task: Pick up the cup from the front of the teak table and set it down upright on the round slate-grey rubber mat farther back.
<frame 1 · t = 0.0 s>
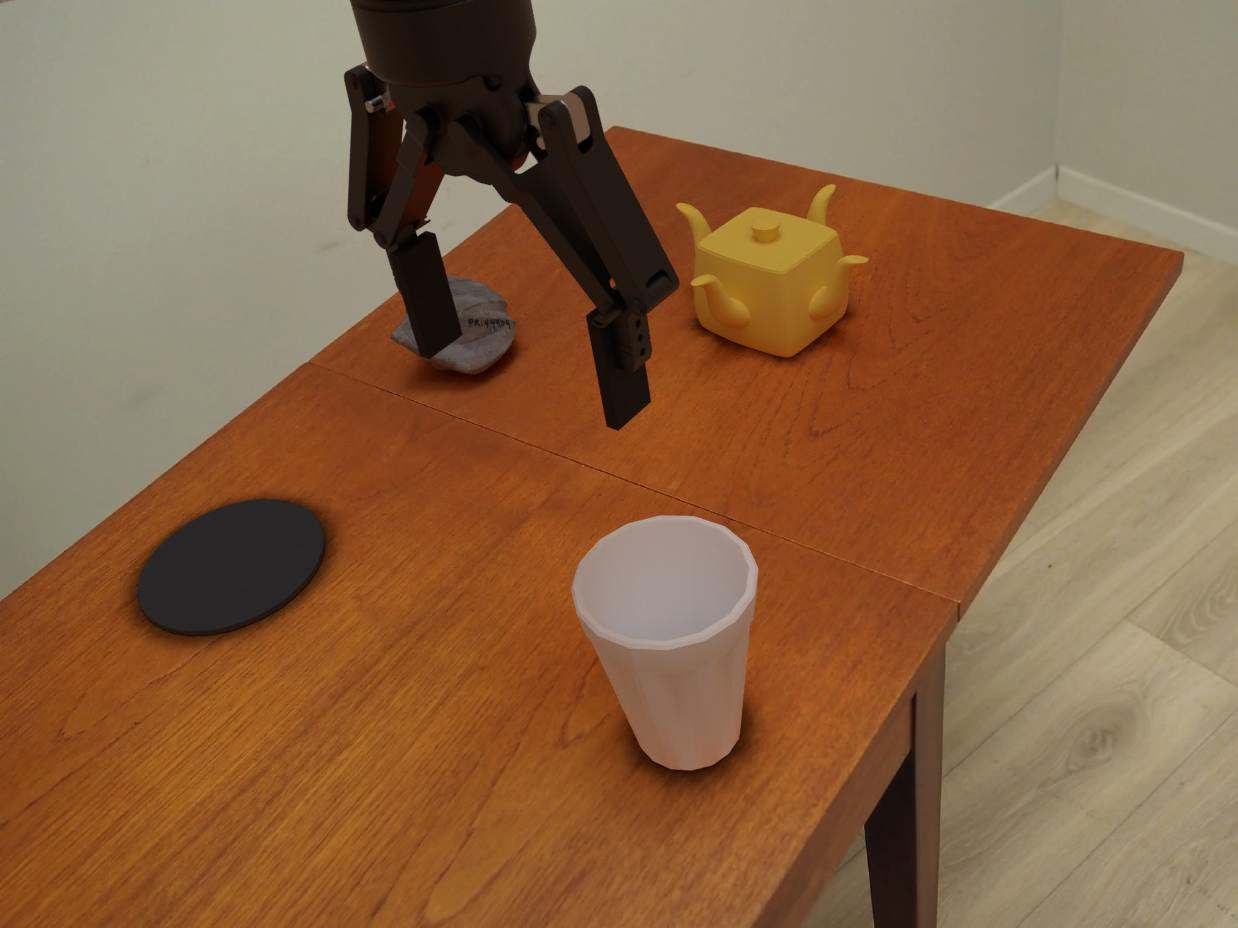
hand: (529, 378, 62), 22 cm above the table, tool pointing down, fingers open, 13 cm apart
mat: (233, 565, 88), on the table
teapot: (771, 321, 103), on the table
fossil: (463, 364, 105), on the table
cup: (689, 732, 70), on the table
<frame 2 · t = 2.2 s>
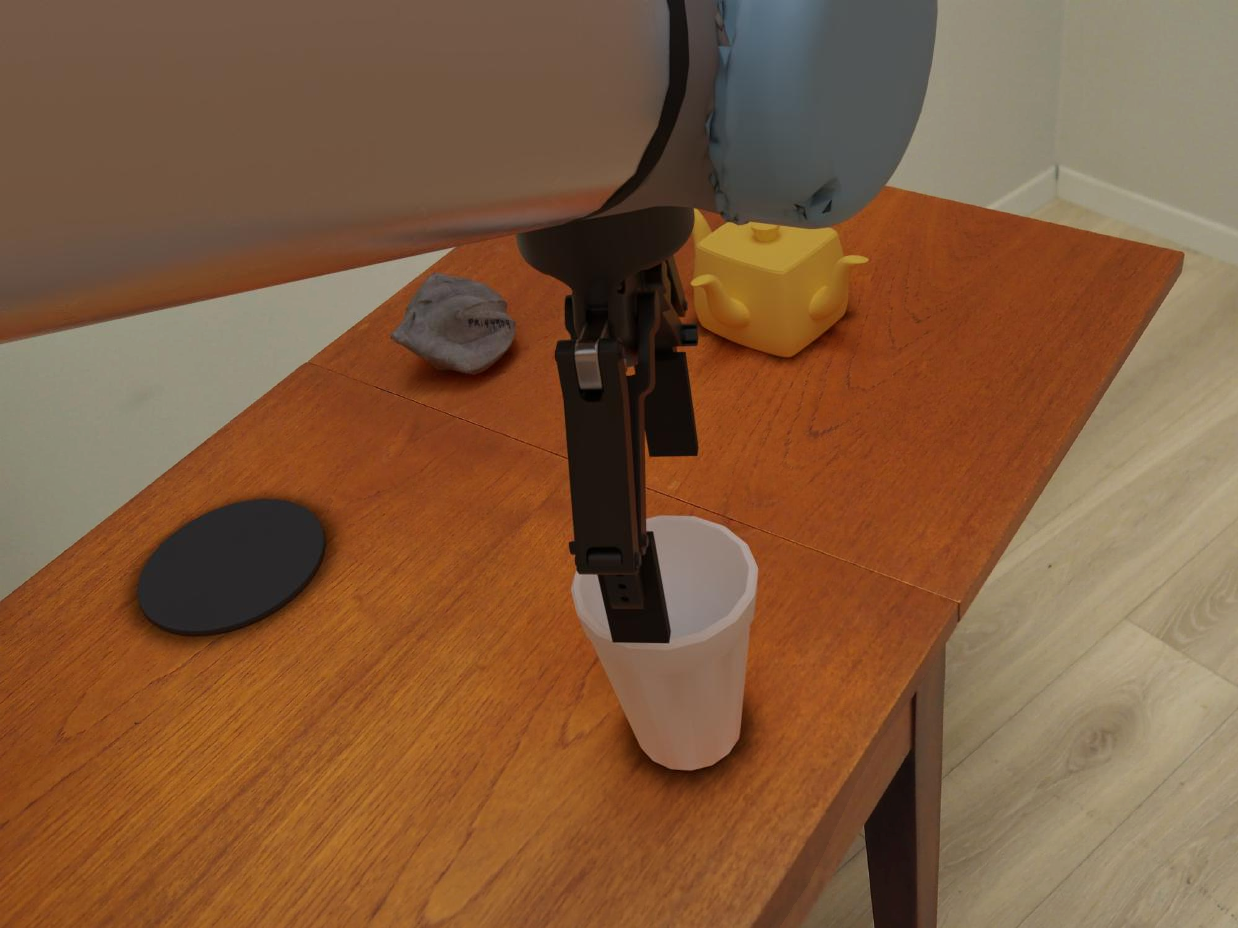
hand: (659, 537, 60), 16 cm above the table, tool pointing down, fingers open, 13 cm apart
nothing on the table moved.
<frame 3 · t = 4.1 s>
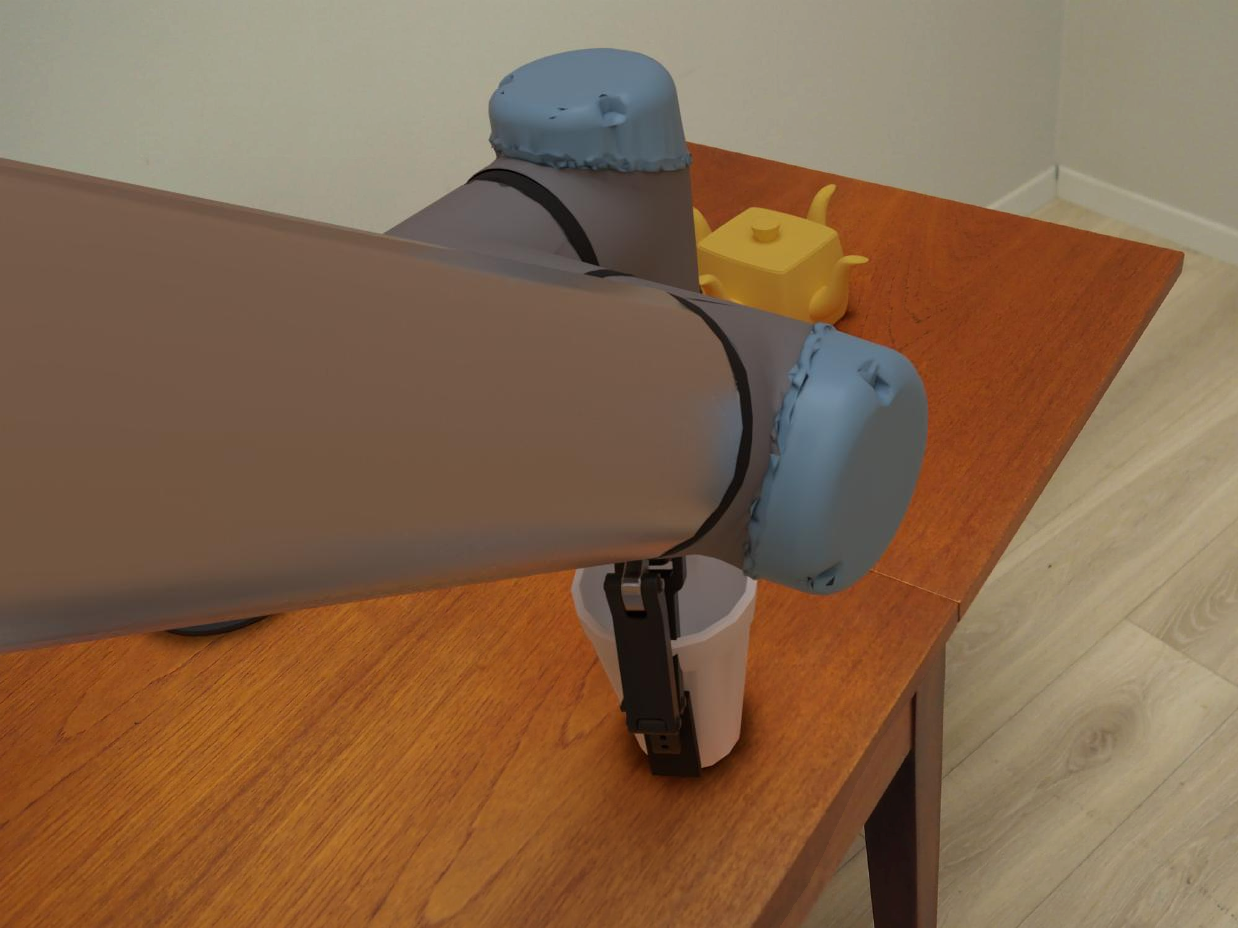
hand: (685, 706, 69), 2 cm above the table, tool pointing down, fingers closed on cup, 8 cm apart
cup: (689, 732, 70), on the table, touching gripper
everything else where it was.
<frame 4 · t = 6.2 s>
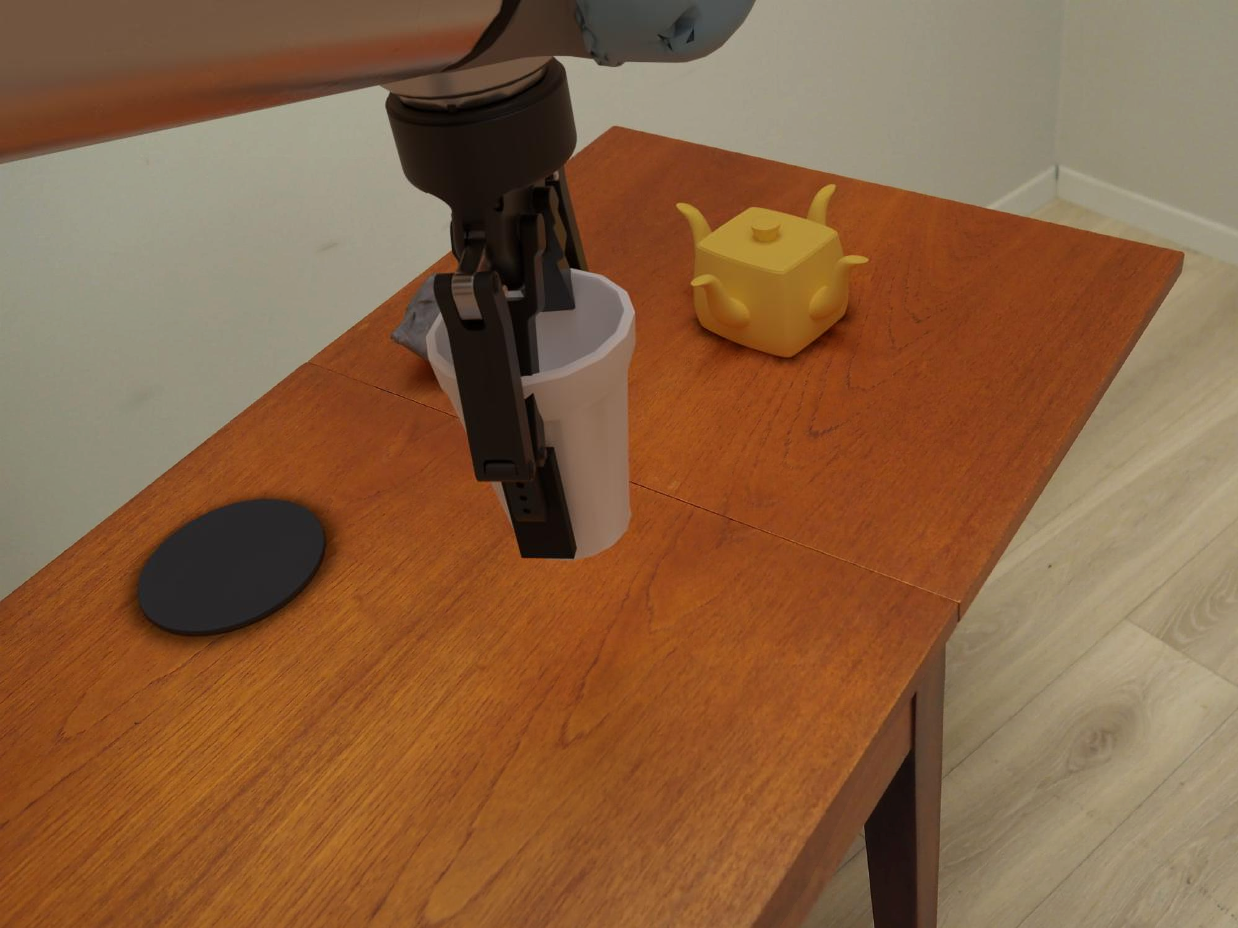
hand: (566, 493, 62), 17 cm above the table, tool pointing down, fingers closed on cup, 8 cm apart
cup: (575, 528, 63), point 15 cm above the table, touching gripper
everything else where it was.
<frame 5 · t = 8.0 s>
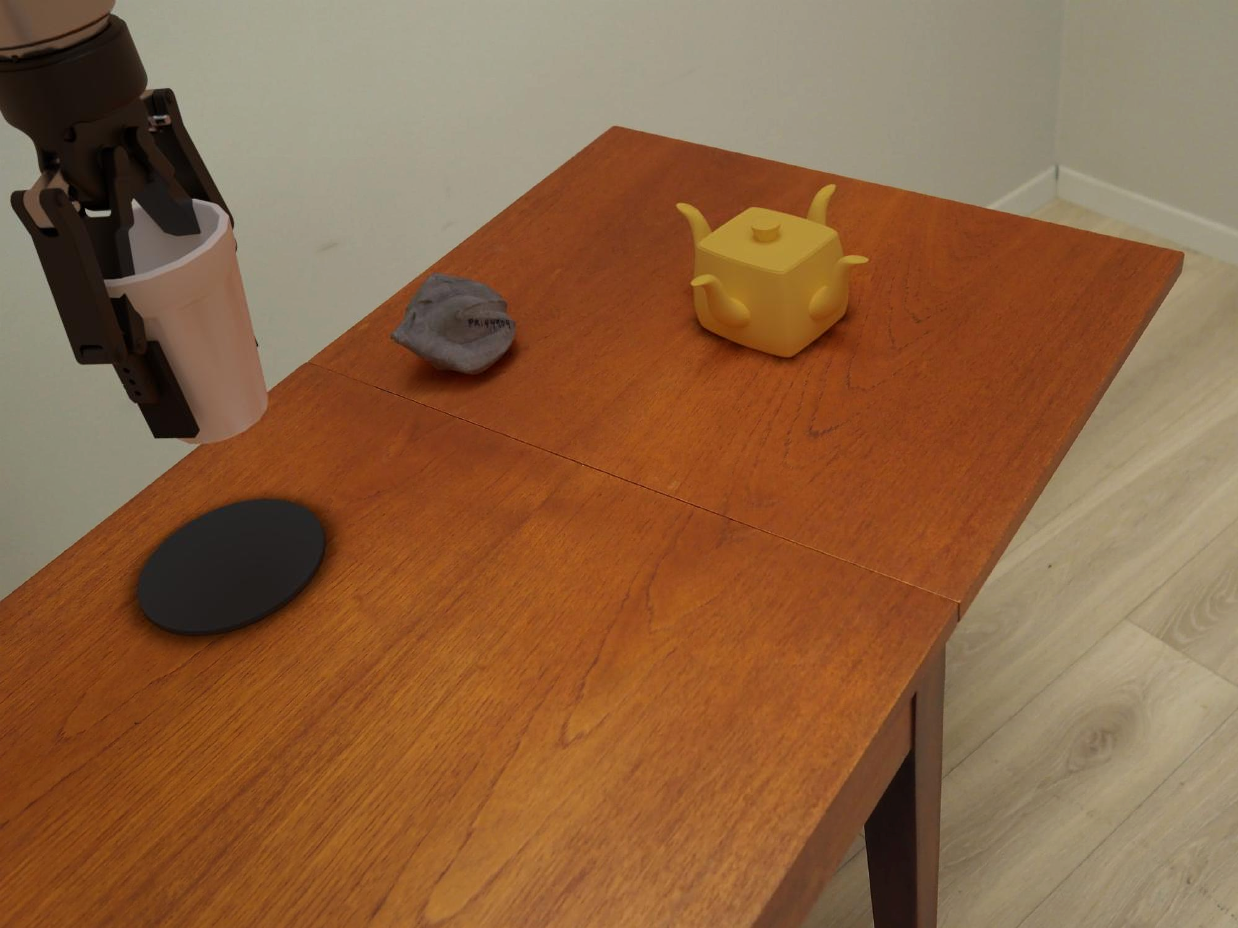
hand: (208, 389, 74), 18 cm above the table, tool pointing down, fingers closed on cup, 8 cm apart
cup: (223, 421, 76), point 15 cm above the table, touching gripper
everything else where it was.
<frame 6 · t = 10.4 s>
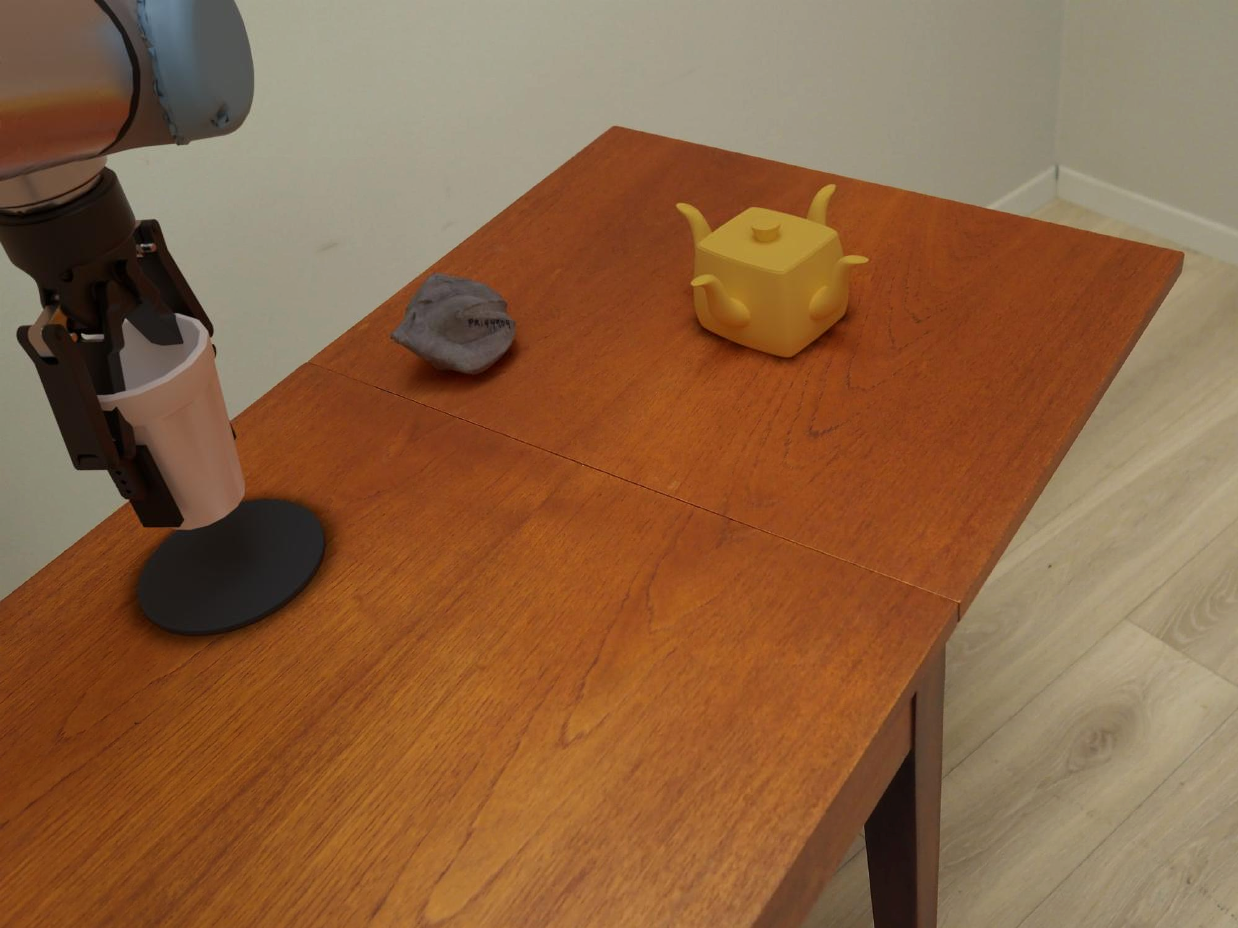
hand: (192, 480, 83), 8 cm above the table, tool pointing down, fingers closed on cup, 8 cm apart
cup: (205, 506, 84), point 6 cm above the table, touching gripper
everything else where it was.
when the fingers open (3 cm above the table, at t = 12.2 s): cup stays where it is, resting on mat.
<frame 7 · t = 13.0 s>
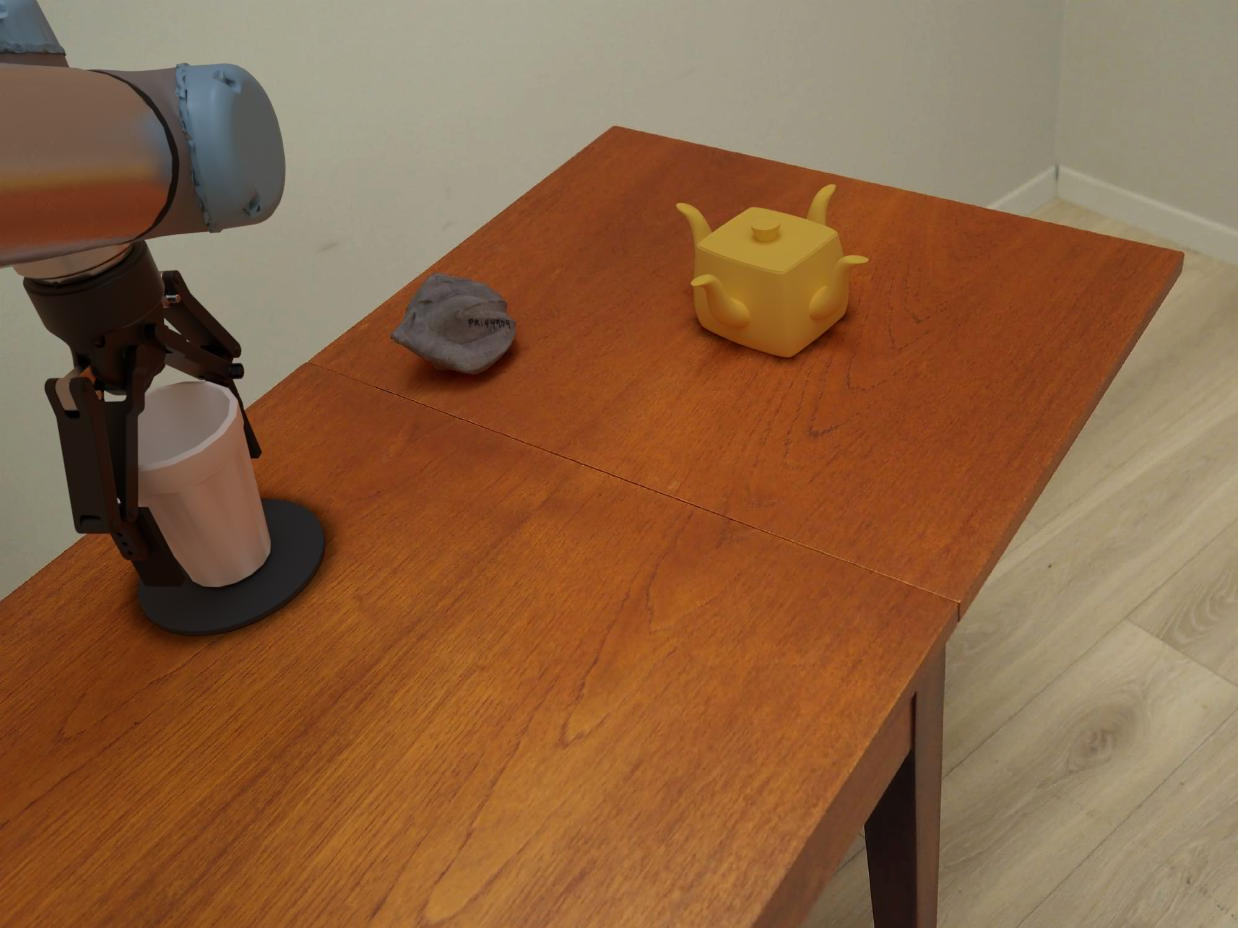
hand: (207, 515, 84), 5 cm above the table, tool pointing down, fingers open, 13 cm apart
cup: (232, 562, 88), resting on mat
everything else where it was.
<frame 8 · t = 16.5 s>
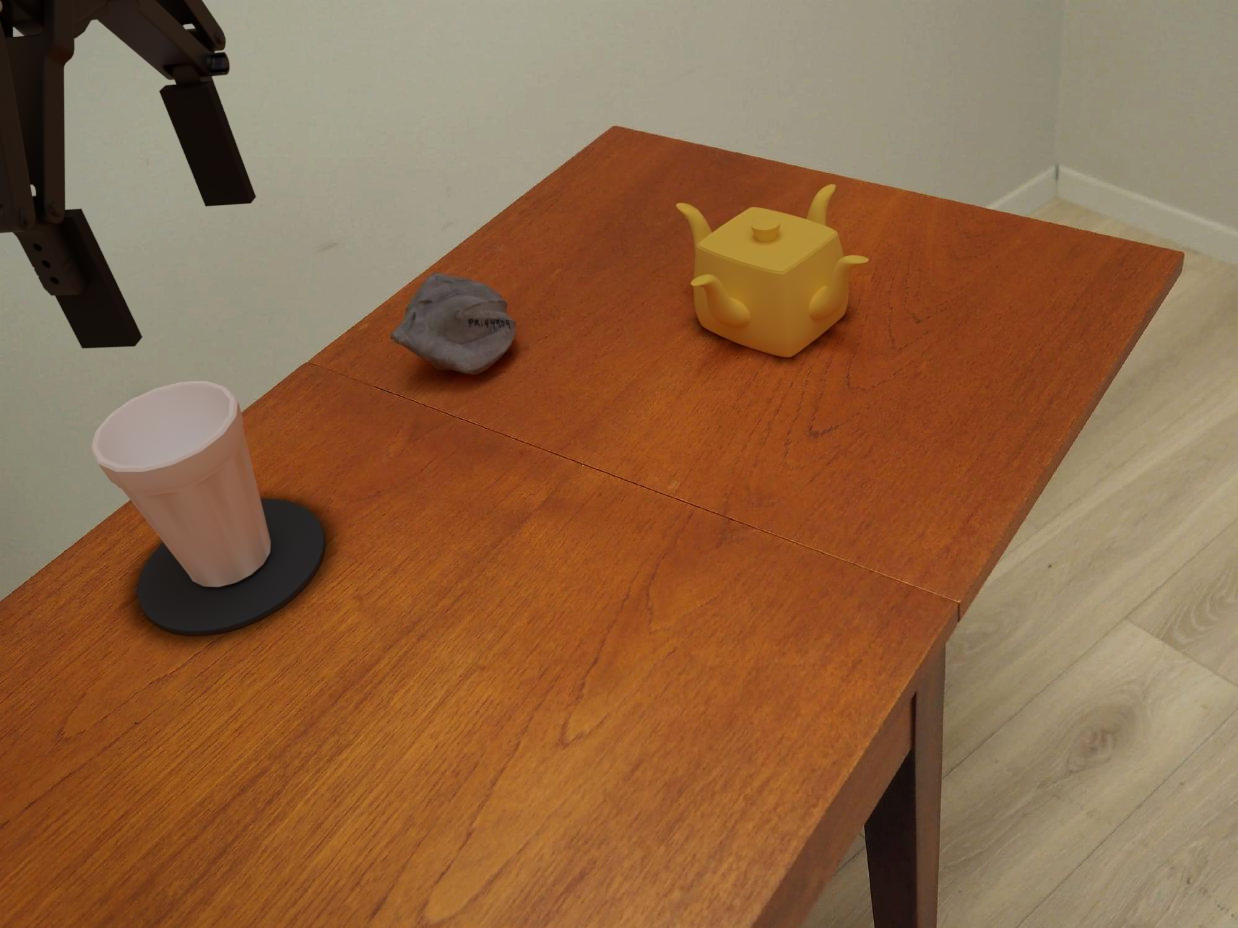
hand: (177, 267, 59), 31 cm above the table, tool pointing down, fingers open, 13 cm apart
nothing on the table moved.
at the end: cup inside the target area on the mat (0.0 cm from its centre), point 0.3 cm above the mat's base; cup tilted 0°; the gripper is holding nothing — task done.
